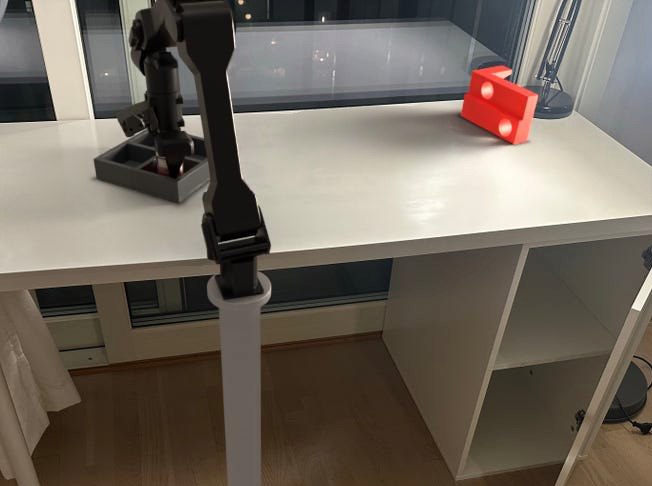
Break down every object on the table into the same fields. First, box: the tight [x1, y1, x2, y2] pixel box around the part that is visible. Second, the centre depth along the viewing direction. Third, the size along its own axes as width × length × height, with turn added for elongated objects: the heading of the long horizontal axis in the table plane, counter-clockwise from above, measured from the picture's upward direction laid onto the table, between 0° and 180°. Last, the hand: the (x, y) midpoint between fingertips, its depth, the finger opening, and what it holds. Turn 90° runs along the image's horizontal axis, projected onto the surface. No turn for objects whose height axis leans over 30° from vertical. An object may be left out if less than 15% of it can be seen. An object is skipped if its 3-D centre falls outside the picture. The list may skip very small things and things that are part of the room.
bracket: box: [460, 65, 539, 145], centre depth 160 cm, size 18×10×10 cm
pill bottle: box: [156, 151, 184, 179], centre depth 131 cm, size 5×5×8 cm
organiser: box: [92, 129, 211, 204], centre depth 137 cm, size 19×19×4 cm
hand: (171, 172), depth 132 cm, fingers closed on pill bottle, 5 cm apart
